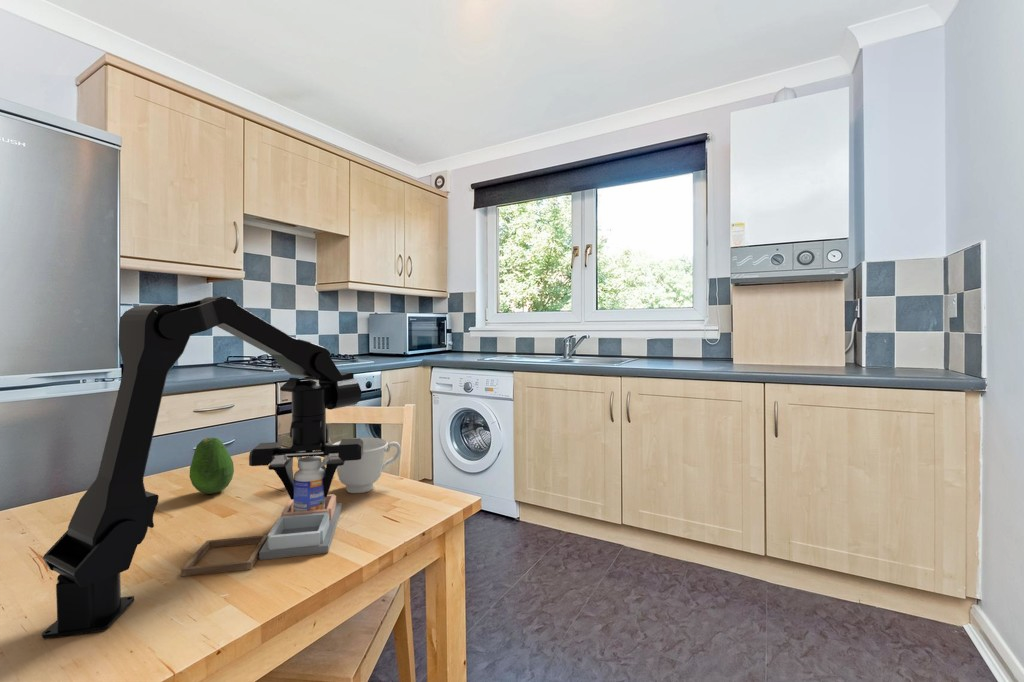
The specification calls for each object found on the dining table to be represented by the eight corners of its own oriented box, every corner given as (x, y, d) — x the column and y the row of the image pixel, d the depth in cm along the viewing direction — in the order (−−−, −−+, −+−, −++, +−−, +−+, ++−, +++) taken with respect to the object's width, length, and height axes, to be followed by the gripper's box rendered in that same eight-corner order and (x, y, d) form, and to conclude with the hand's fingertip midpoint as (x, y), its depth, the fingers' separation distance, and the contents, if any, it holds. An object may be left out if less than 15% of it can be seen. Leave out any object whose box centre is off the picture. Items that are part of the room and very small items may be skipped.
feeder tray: (251, 568, 69) (251, 562, 69) (181, 576, 67) (180, 569, 67) (268, 540, 78) (268, 534, 78) (206, 546, 76) (206, 540, 76)
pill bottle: (313, 518, 83) (313, 464, 83) (286, 515, 84) (287, 462, 84) (331, 507, 88) (331, 456, 88) (305, 504, 89) (306, 454, 89)
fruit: (196, 489, 102) (194, 435, 102) (237, 485, 105) (236, 432, 104) (185, 502, 95) (183, 444, 94) (229, 497, 98) (228, 440, 97)
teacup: (405, 492, 101) (404, 447, 100) (331, 502, 95) (330, 453, 95) (397, 475, 112) (397, 434, 111) (330, 483, 106) (330, 440, 106)
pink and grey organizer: (328, 552, 74) (327, 533, 74) (259, 559, 72) (259, 539, 72) (341, 508, 92) (341, 492, 92) (286, 513, 89) (286, 497, 89)
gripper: (365, 404, 95) (365, 479, 96) (265, 407, 91) (266, 486, 92) (360, 415, 85) (361, 499, 85) (247, 419, 80) (248, 508, 81)
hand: (309, 497), depth 86 cm, fingers closed on pill bottle, 5 cm apart
